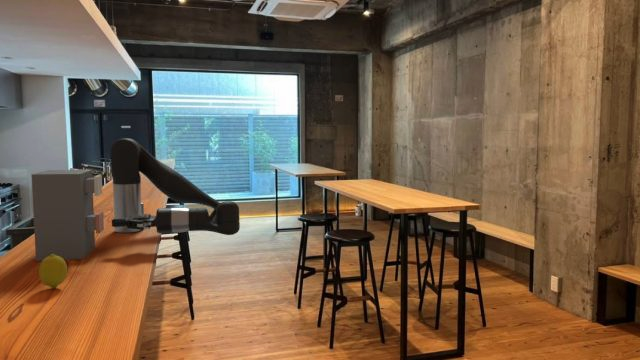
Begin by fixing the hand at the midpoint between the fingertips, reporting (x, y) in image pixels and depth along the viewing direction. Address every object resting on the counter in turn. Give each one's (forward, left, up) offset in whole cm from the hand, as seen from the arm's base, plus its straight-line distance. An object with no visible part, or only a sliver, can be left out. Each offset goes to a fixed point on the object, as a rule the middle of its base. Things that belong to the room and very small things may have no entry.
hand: (112, 222), depth 137 cm
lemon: (+29, +15, -9) cm, 34 cm away
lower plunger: (+4, -6, -3) cm, 8 cm away
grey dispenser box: (+8, -10, -9) cm, 15 cm away
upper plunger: (+4, -6, +8) cm, 11 cm away
